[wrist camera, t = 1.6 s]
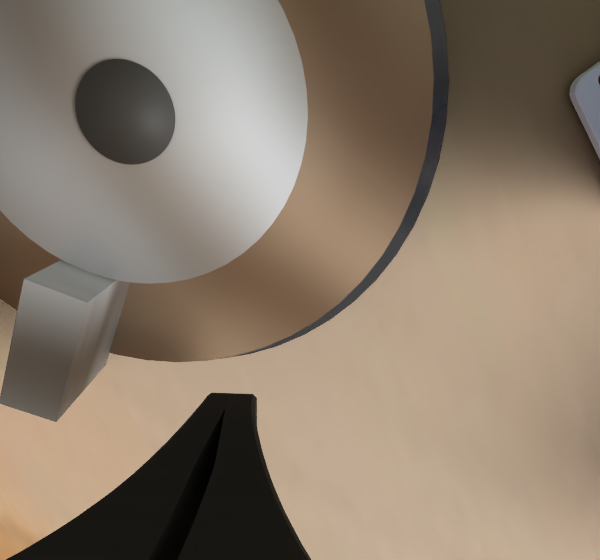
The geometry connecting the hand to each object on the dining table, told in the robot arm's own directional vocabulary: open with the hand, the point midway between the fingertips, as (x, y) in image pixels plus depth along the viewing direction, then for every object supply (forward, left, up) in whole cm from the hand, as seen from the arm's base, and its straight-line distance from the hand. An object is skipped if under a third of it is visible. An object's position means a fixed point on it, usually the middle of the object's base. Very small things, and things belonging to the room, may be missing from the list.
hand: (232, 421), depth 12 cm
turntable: (-3, -8, -4) cm, 10 cm away
